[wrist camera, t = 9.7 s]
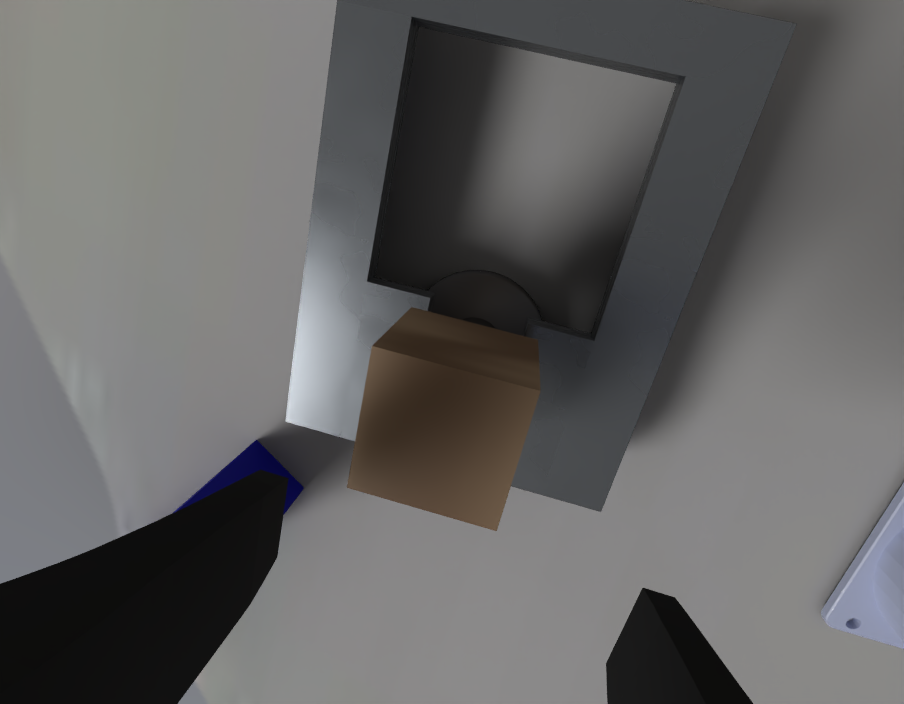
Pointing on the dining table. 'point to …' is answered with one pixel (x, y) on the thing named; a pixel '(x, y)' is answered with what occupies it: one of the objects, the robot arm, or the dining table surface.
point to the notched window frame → (644, 245)
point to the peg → (450, 401)
